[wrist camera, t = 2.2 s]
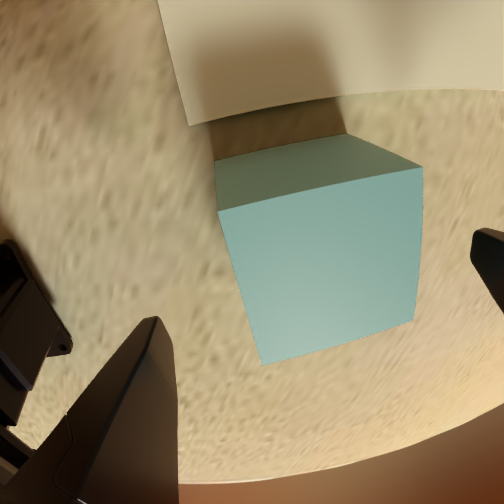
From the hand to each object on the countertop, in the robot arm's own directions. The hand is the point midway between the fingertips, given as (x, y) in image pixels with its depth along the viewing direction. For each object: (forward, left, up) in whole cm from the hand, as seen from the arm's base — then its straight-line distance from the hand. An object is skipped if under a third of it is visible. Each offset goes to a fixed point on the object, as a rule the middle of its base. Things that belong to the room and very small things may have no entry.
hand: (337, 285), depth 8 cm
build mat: (+7, +11, -5) cm, 14 cm away
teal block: (0, 0, -5) cm, 5 cm away
